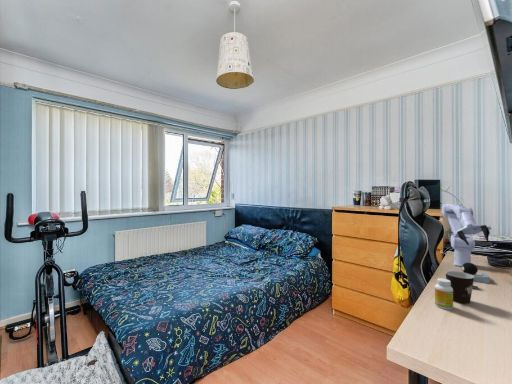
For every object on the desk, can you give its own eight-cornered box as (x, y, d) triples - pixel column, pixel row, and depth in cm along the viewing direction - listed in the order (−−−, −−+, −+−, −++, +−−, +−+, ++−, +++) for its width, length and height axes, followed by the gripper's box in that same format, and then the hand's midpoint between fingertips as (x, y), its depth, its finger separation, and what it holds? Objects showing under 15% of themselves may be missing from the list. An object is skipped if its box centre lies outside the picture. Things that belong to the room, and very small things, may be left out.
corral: (455, 273, 128) (455, 268, 128) (485, 278, 122) (485, 273, 122) (457, 278, 122) (457, 273, 121) (489, 283, 115) (489, 278, 115)
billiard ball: (480, 277, 124) (480, 264, 124) (466, 276, 125) (466, 264, 125) (473, 273, 129) (473, 261, 129) (459, 272, 131) (459, 260, 131)
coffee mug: (463, 296, 101) (463, 271, 101) (480, 305, 93) (480, 278, 93) (432, 294, 103) (432, 270, 103) (446, 304, 94) (446, 277, 94)
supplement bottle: (448, 311, 89) (448, 283, 89) (431, 305, 94) (431, 278, 94) (456, 307, 91) (456, 281, 91) (439, 302, 96) (439, 276, 96)
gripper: (450, 222, 137) (456, 239, 126) (483, 214, 128) (493, 231, 118) (455, 231, 138) (461, 249, 128) (488, 224, 130) (498, 242, 119)
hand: (477, 241), depth 123 cm, fingers open, 7 cm apart
